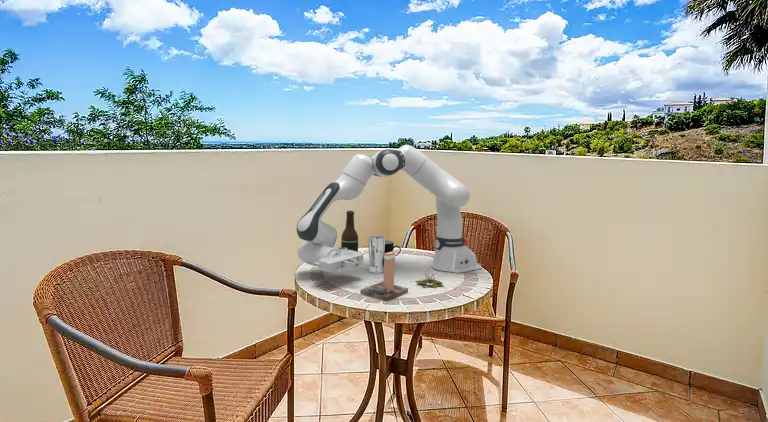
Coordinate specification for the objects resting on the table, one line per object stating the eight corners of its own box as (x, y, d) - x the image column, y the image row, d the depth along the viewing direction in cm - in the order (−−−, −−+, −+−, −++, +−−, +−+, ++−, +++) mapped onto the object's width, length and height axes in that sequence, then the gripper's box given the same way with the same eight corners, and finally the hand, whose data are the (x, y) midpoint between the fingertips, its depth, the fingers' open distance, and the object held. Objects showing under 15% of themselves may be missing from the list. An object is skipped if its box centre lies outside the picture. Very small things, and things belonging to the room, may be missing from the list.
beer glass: (382, 274, 190) (383, 239, 188) (366, 272, 191) (367, 237, 189) (385, 269, 197) (386, 235, 194) (369, 268, 198) (370, 234, 196)
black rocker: (374, 292, 161) (374, 290, 161) (378, 290, 162) (378, 288, 162) (382, 293, 158) (382, 290, 158) (386, 291, 160) (386, 288, 160)
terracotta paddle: (382, 291, 162) (384, 253, 160) (389, 289, 165) (391, 251, 163) (387, 292, 161) (388, 254, 159) (394, 290, 164) (395, 252, 162)
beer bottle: (355, 266, 201) (356, 212, 197) (338, 265, 202) (339, 212, 198) (359, 262, 208) (360, 210, 205) (343, 260, 209) (343, 209, 206)
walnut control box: (360, 293, 164) (360, 286, 164) (382, 285, 175) (382, 278, 174) (387, 301, 157) (387, 294, 157) (408, 292, 167) (408, 285, 167)
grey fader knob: (381, 284, 170) (381, 280, 169) (384, 283, 171) (384, 279, 171) (387, 286, 168) (387, 282, 168) (389, 285, 170) (390, 280, 169)
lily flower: (450, 289, 174) (450, 277, 174) (420, 291, 171) (421, 279, 170) (437, 279, 186) (438, 269, 185) (410, 281, 182) (410, 270, 182)
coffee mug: (370, 262, 208) (371, 241, 206) (383, 259, 214) (384, 238, 212) (388, 268, 200) (389, 245, 198) (401, 264, 206) (402, 243, 204)
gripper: (311, 255, 170) (338, 261, 162) (347, 246, 186) (373, 252, 178) (311, 271, 171) (338, 279, 163) (347, 261, 187) (373, 267, 179)
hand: (357, 265), depth 171 cm, fingers closed
